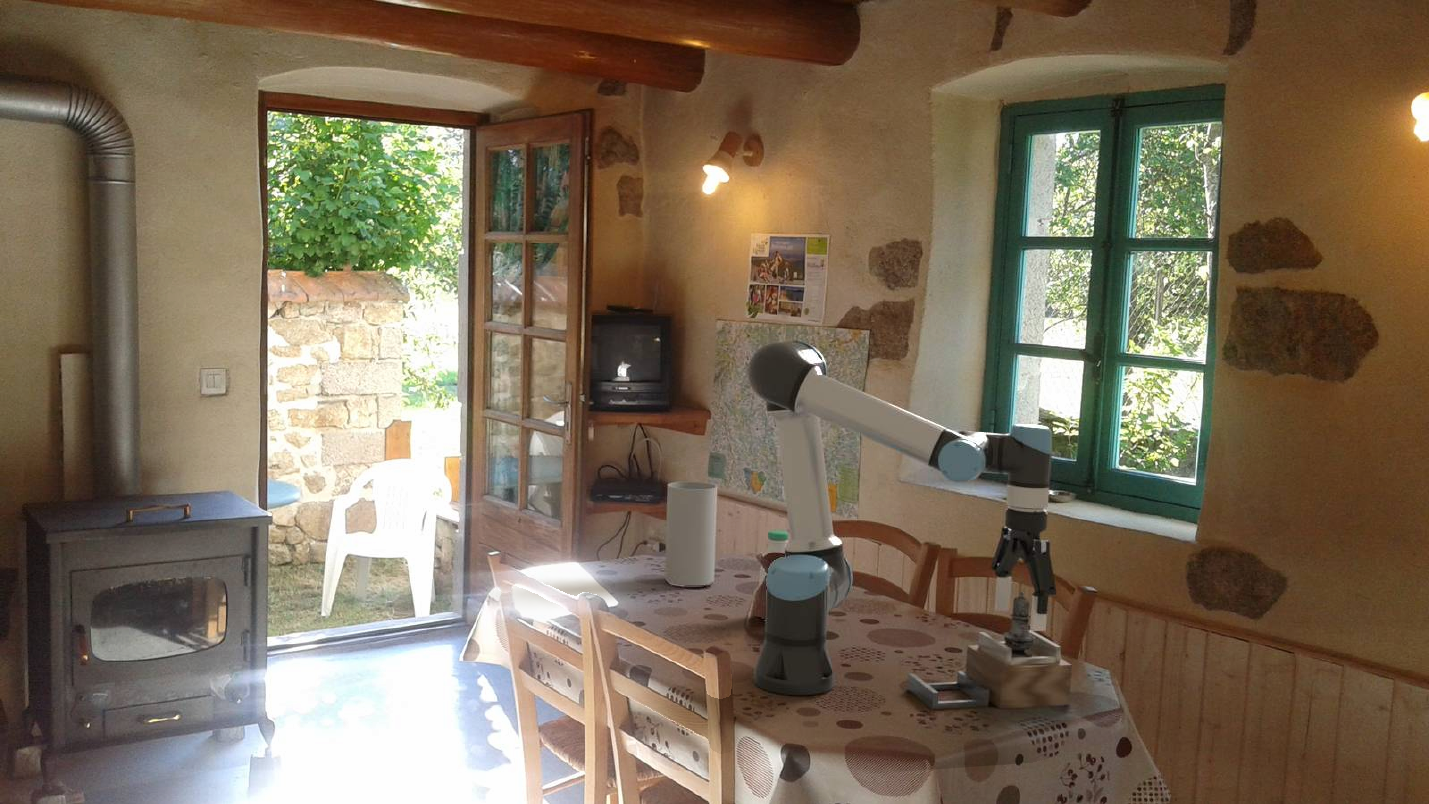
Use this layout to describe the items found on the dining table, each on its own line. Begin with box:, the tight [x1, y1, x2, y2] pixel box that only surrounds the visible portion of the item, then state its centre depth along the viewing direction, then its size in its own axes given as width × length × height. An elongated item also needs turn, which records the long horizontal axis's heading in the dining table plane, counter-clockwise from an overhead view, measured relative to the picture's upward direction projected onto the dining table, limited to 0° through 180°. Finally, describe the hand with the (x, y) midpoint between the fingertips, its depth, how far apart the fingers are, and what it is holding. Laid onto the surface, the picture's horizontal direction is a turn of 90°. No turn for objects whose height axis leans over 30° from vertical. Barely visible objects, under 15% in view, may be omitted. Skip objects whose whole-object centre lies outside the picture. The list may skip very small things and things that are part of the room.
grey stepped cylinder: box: [1002, 591, 1035, 658], centre depth 223 cm, size 6×6×12 cm
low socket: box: [907, 670, 990, 710], centre depth 221 cm, size 11×11×3 cm
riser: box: [965, 629, 1073, 709], centre depth 224 cm, size 14×14×10 cm
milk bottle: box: [758, 529, 789, 587], centre depth 271 cm, size 8×8×20 cm
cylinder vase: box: [664, 481, 718, 585], centre depth 302 cm, size 12×12×25 cm
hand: (1019, 620), depth 223 cm, fingers open, 13 cm apart
